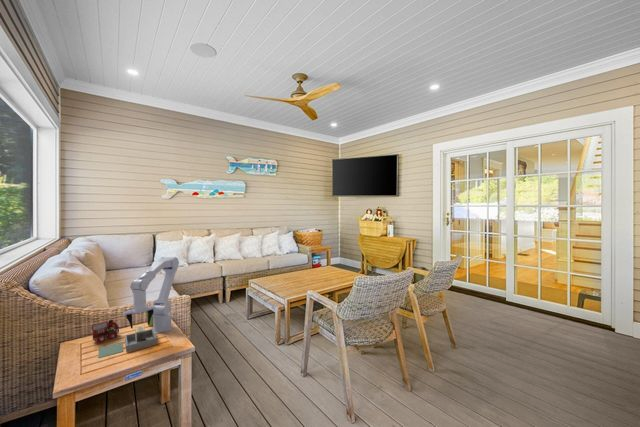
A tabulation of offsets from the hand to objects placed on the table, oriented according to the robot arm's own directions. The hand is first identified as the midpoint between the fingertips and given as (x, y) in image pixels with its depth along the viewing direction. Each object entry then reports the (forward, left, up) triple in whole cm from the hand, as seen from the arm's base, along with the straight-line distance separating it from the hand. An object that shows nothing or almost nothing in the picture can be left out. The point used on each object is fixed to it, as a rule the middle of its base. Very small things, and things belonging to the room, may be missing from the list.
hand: (140, 325), depth 151 cm
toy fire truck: (+15, -17, -10) cm, 25 cm away
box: (0, 0, -9) cm, 9 cm away
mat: (+13, 0, -10) cm, 16 cm away
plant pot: (-9, -23, -10) cm, 27 cm away
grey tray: (0, 0, -10) cm, 10 cm away
